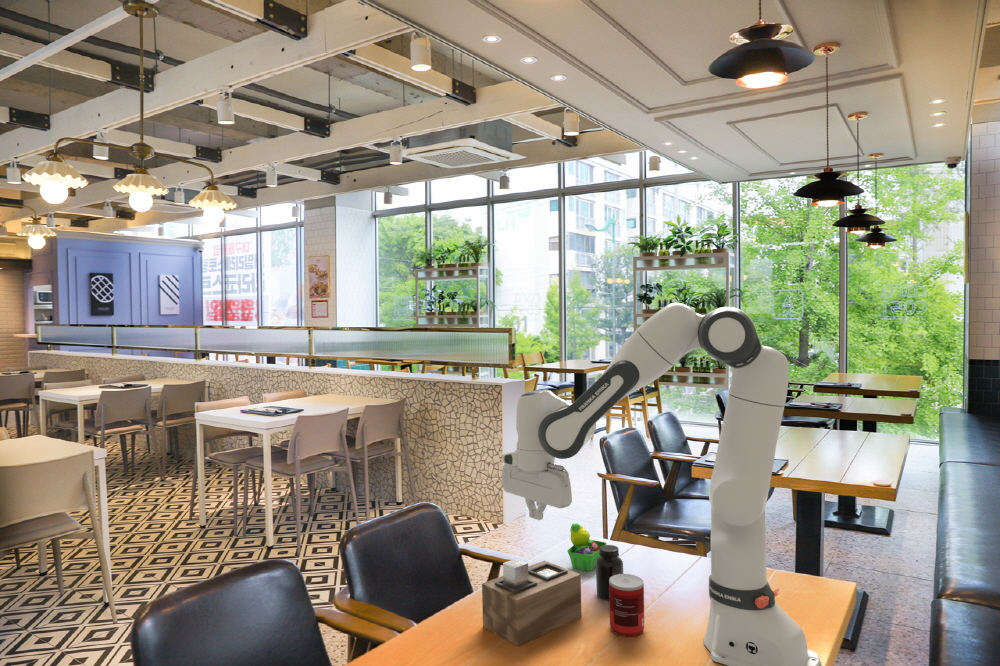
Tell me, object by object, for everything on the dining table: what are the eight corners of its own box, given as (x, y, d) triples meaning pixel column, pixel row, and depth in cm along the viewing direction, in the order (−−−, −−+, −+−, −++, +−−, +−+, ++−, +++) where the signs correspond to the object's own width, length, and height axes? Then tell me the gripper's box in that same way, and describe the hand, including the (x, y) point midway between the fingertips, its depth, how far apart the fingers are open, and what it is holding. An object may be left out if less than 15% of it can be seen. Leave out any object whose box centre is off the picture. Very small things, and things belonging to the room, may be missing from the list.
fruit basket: (592, 574, 180) (591, 532, 180) (562, 568, 185) (561, 528, 184) (608, 560, 190) (607, 521, 189) (579, 554, 194) (579, 516, 194)
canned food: (631, 618, 154) (631, 571, 153) (651, 633, 146) (651, 584, 146) (603, 624, 151) (602, 576, 151) (621, 640, 143) (620, 590, 143)
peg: (528, 602, 149) (527, 563, 149) (515, 608, 147) (514, 568, 146) (516, 597, 152) (516, 558, 152) (503, 602, 150) (502, 563, 149)
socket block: (581, 616, 155) (580, 571, 155) (518, 646, 142) (517, 597, 142) (545, 600, 164) (544, 558, 164) (482, 626, 151) (481, 580, 151)
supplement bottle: (622, 589, 169) (622, 543, 169) (625, 601, 163) (624, 553, 162) (595, 589, 170) (594, 542, 170) (596, 600, 163) (596, 552, 163)
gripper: (577, 464, 147) (578, 526, 148) (516, 450, 163) (517, 506, 163) (557, 469, 143) (558, 532, 144) (497, 454, 159) (498, 511, 159)
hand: (536, 518), depth 154 cm, fingers closed
